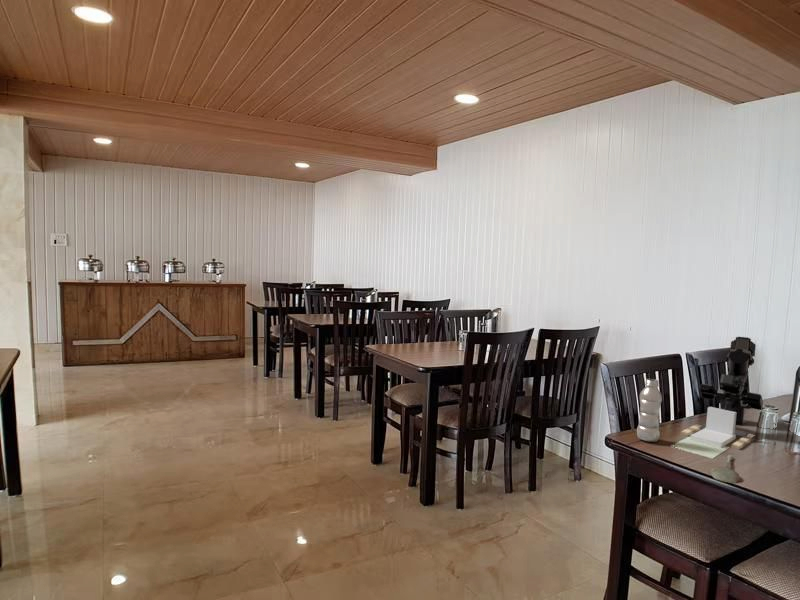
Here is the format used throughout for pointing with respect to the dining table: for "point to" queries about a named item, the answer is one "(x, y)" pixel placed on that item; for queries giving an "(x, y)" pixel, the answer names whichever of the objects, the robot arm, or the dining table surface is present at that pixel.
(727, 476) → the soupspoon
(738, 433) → the mat
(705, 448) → the mat
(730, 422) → the white l-shaped bracket
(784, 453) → the dining table surface
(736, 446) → the channel
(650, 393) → the plastic bottle
